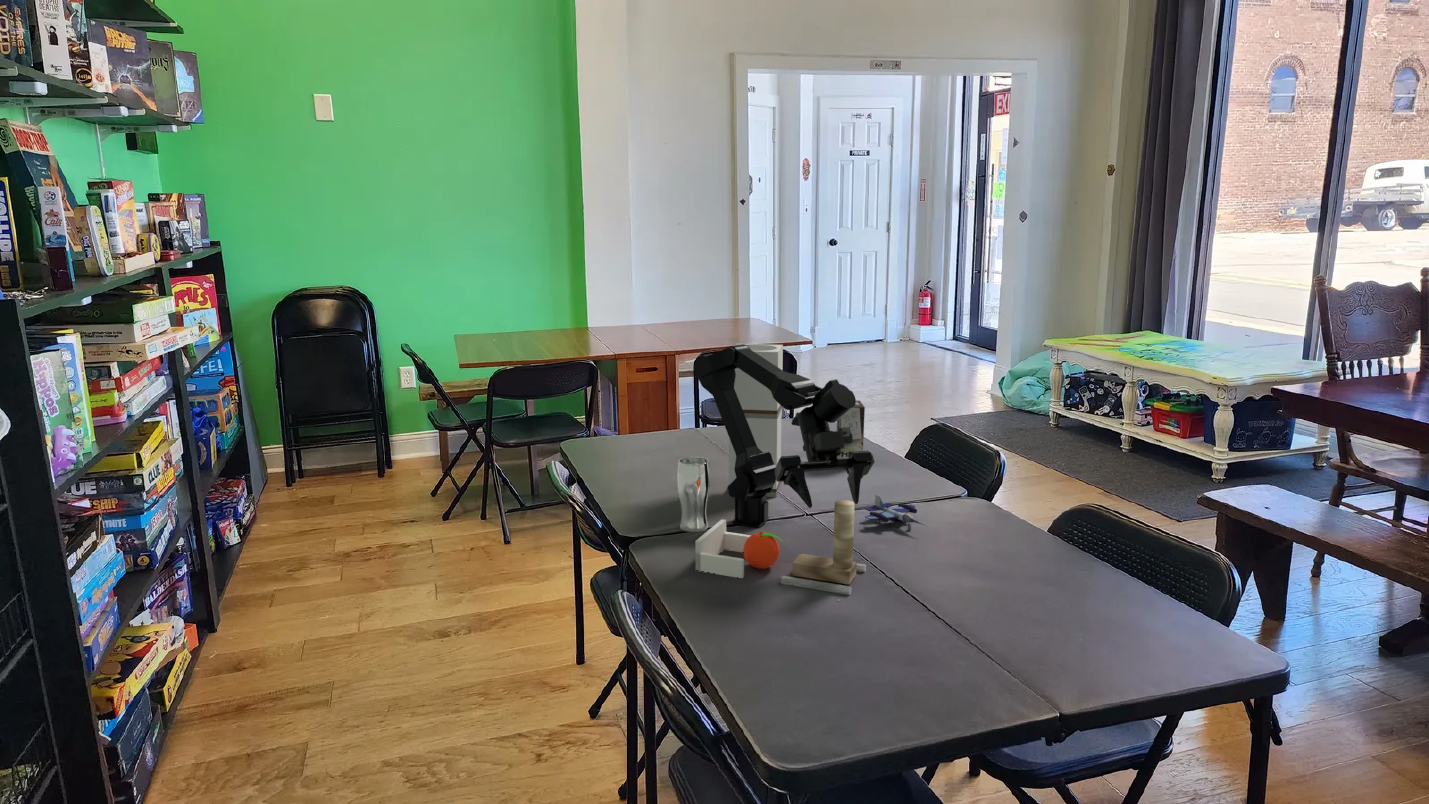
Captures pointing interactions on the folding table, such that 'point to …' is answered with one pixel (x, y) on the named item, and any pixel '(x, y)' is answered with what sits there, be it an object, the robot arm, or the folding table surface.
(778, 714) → the folding table surface
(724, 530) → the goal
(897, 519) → the toy airplane
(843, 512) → the ball
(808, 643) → the folding table surface
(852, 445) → the coffee box
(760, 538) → the clementine
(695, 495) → the beer glass
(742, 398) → the white square tower
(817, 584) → the rails
